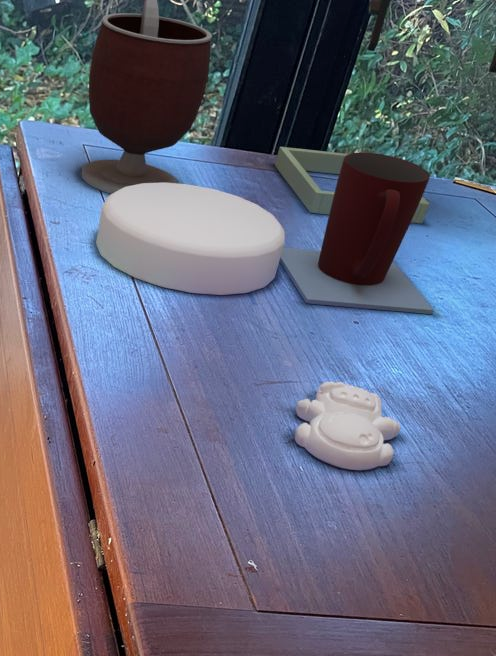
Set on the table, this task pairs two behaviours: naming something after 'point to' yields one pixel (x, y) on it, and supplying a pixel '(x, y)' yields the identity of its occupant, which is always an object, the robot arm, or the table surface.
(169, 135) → the mate gourd
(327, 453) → the astronaut figurine
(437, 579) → the table surface
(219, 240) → the container
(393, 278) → the mat
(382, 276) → the mug
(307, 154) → the green rectangular frame
